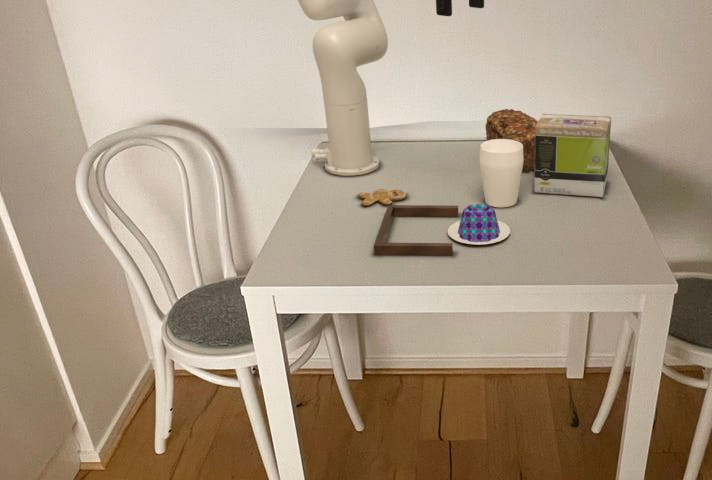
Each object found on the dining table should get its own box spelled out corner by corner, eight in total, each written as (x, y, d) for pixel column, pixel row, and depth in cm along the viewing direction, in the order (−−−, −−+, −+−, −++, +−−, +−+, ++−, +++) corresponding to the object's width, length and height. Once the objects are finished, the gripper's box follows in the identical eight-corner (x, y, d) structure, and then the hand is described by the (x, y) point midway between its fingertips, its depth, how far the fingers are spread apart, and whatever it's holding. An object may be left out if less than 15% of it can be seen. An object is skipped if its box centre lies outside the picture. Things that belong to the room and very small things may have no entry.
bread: (484, 149, 186) (484, 108, 181) (524, 144, 189) (525, 104, 184) (513, 175, 172) (514, 131, 166) (556, 168, 175) (558, 126, 169)
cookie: (355, 190, 162) (401, 184, 165) (356, 194, 162) (401, 188, 165) (362, 204, 155) (410, 198, 158) (363, 209, 156) (410, 202, 158)
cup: (519, 211, 154) (520, 154, 148) (475, 208, 156) (474, 152, 149) (525, 195, 162) (527, 140, 155) (484, 192, 163) (483, 137, 157)
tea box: (607, 181, 168) (613, 115, 160) (603, 199, 159) (608, 130, 151) (540, 176, 170) (542, 111, 163) (532, 193, 162) (534, 125, 154)
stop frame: (374, 255, 138) (373, 245, 137) (388, 214, 154) (388, 204, 153) (452, 255, 138) (451, 246, 137) (458, 214, 153) (458, 205, 152)
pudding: (508, 220, 150) (508, 196, 148) (512, 247, 140) (512, 221, 138) (448, 221, 150) (447, 197, 148) (447, 248, 140) (446, 222, 137)
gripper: (470, -98, 139) (472, 3, 148) (408, -92, 127) (414, 16, 136) (504, -97, 135) (504, 6, 144) (443, -91, 123) (447, 20, 132)
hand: (460, 11), depth 140 cm, fingers open, 9 cm apart
